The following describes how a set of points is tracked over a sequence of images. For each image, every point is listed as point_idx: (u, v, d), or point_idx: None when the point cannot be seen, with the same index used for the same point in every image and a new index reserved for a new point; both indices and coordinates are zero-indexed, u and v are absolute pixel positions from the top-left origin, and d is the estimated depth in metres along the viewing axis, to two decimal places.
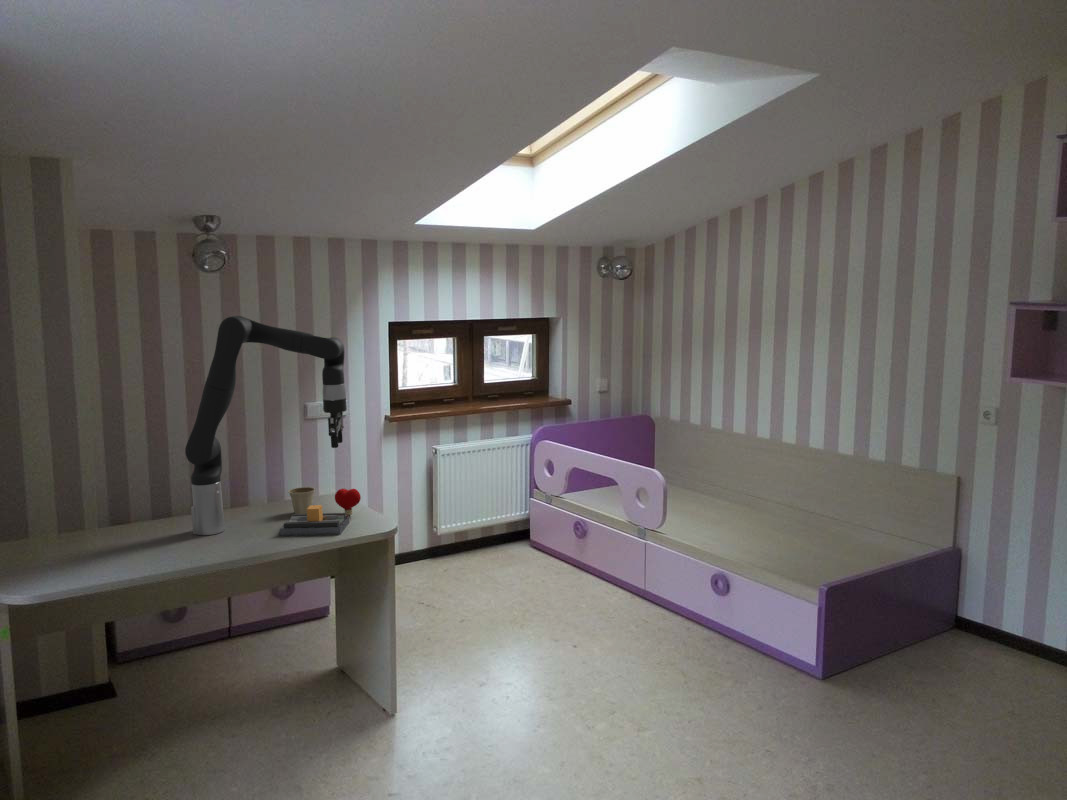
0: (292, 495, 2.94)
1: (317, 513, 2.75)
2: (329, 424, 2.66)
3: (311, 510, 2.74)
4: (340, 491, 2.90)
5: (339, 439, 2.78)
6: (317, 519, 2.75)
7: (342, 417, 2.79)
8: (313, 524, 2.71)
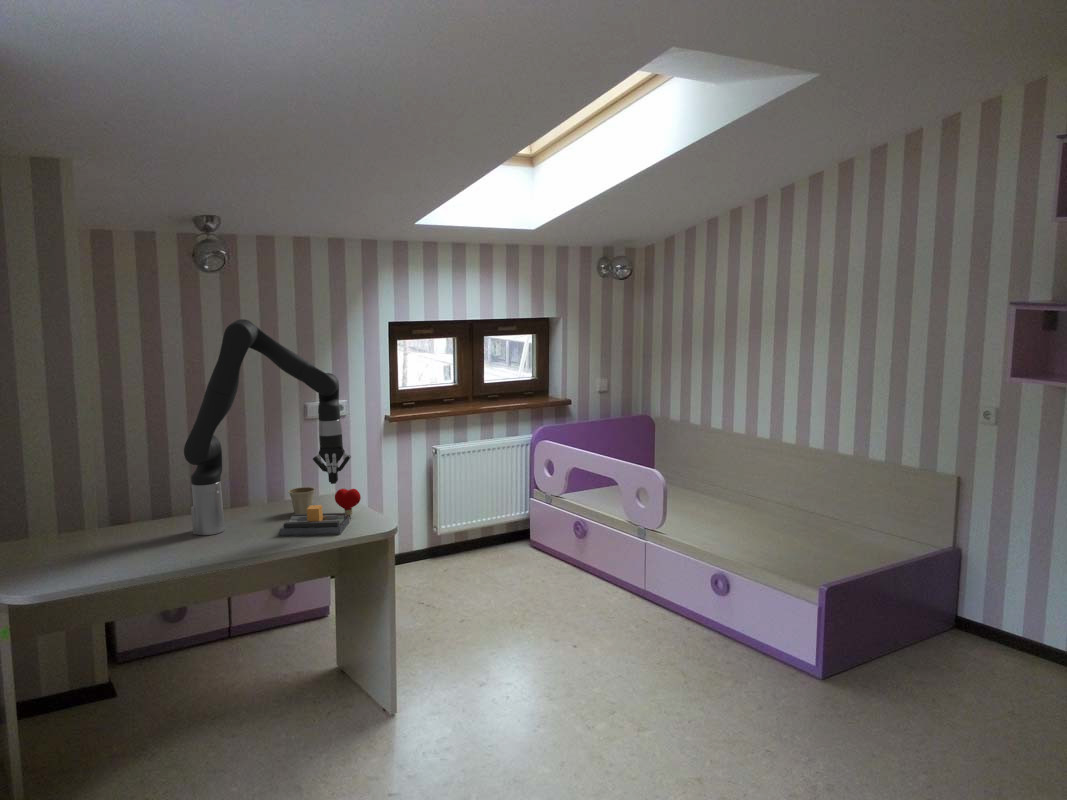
0: (292, 495, 2.94)
1: (317, 513, 2.75)
2: (346, 462, 2.74)
3: (311, 510, 2.74)
4: (340, 491, 2.90)
5: None
6: (317, 519, 2.75)
7: None
8: (313, 524, 2.71)
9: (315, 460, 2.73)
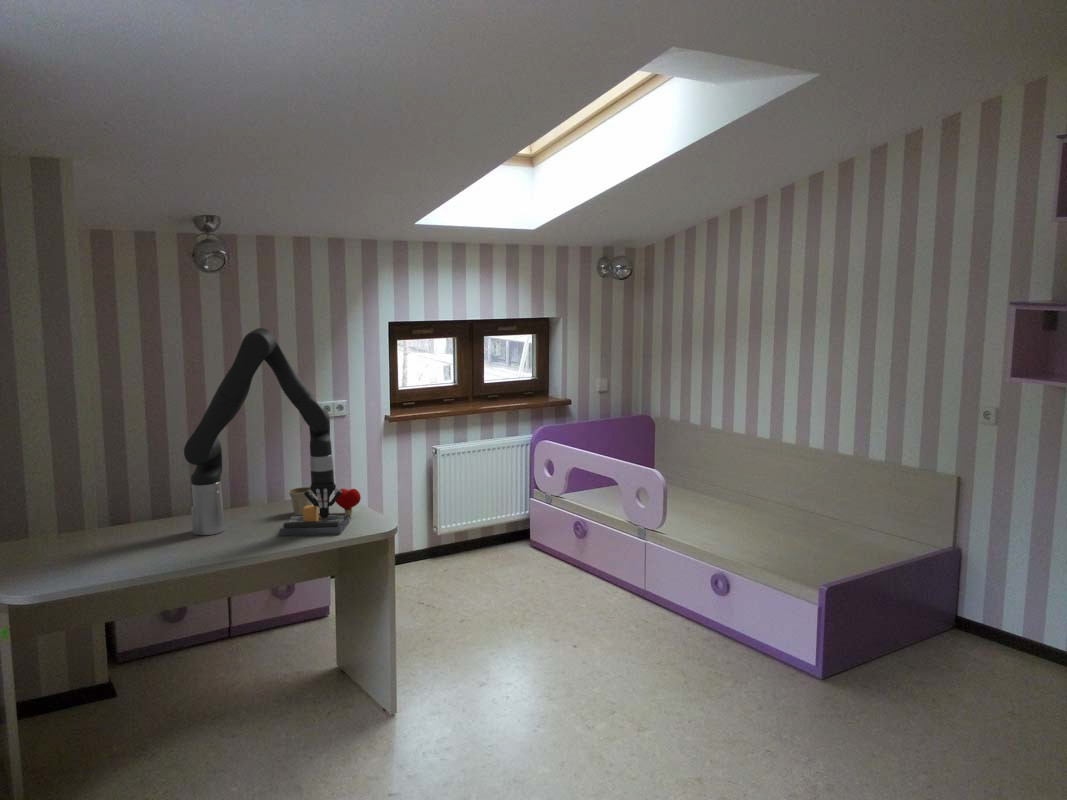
0: (292, 495, 2.94)
1: (313, 513, 2.75)
2: (337, 497, 2.75)
3: (307, 510, 2.74)
4: None
5: None
6: (313, 519, 2.75)
7: None
8: (313, 524, 2.71)
9: (306, 495, 2.75)
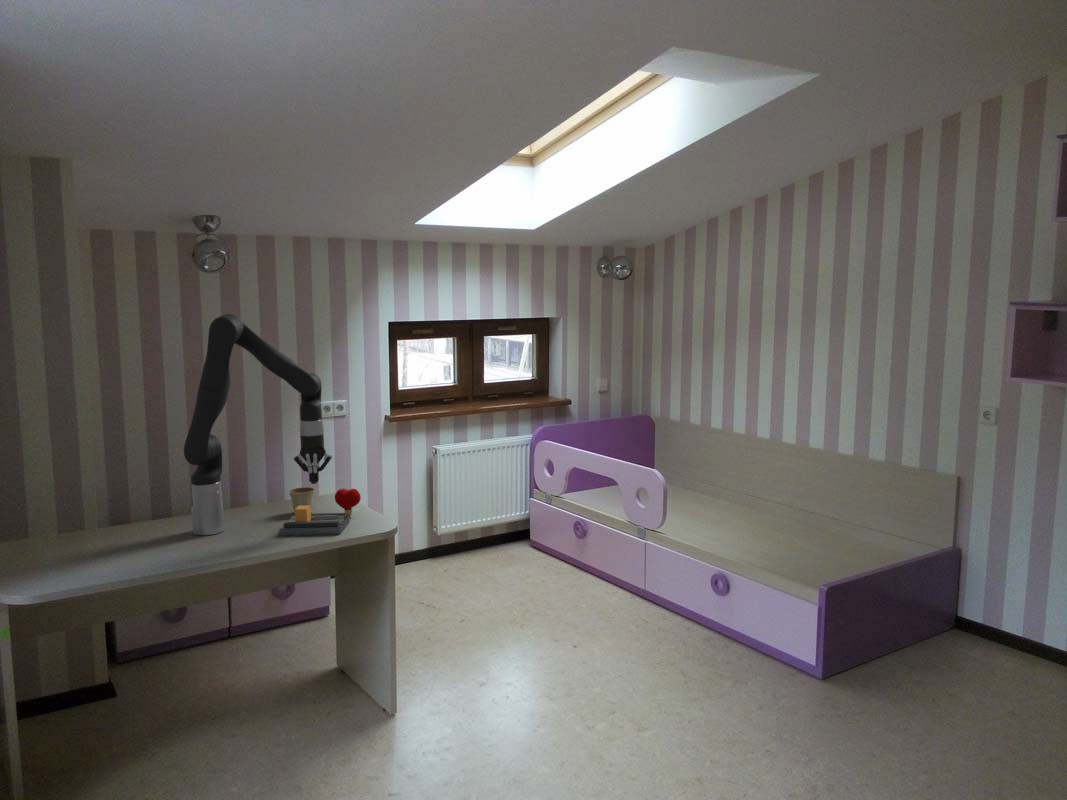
0: (292, 495, 2.94)
1: (305, 513, 2.75)
2: (327, 462, 2.74)
3: (299, 510, 2.74)
4: (340, 491, 2.90)
5: None
6: (305, 519, 2.75)
7: None
8: (313, 524, 2.71)
9: (296, 460, 2.73)
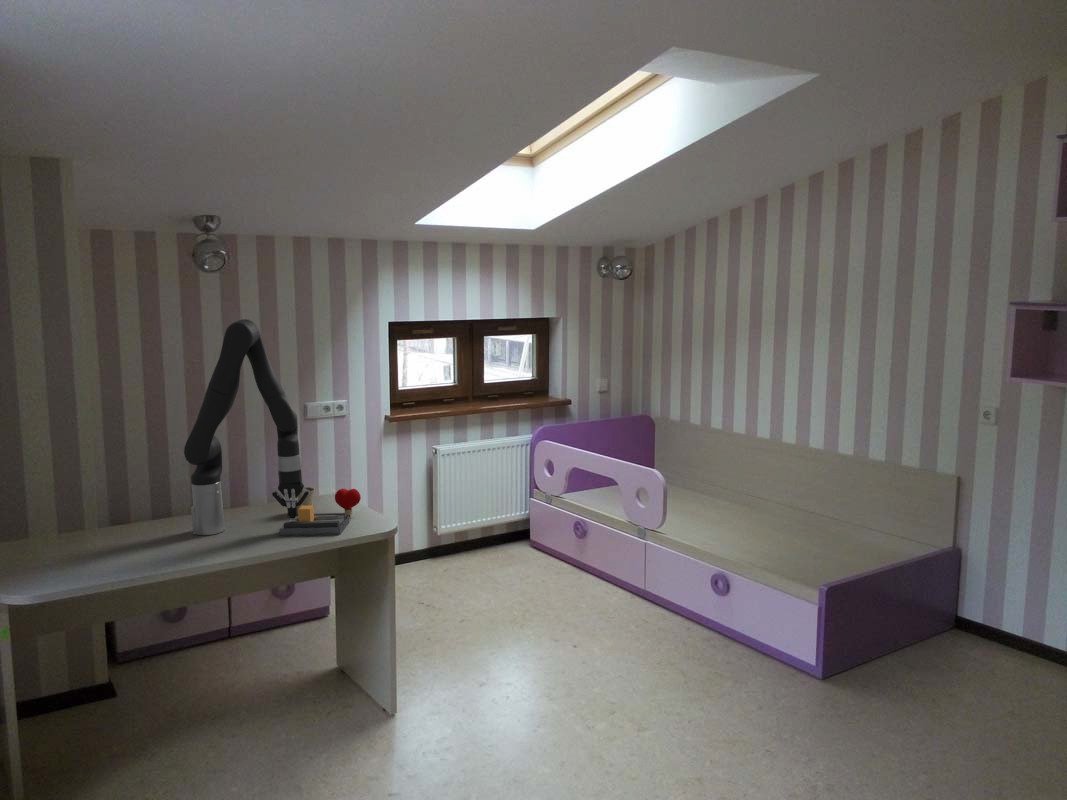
0: None
1: (308, 513, 2.75)
2: (305, 497, 2.75)
3: (302, 510, 2.74)
4: (340, 491, 2.90)
5: None
6: (308, 519, 2.75)
7: None
8: (313, 524, 2.71)
9: (274, 495, 2.75)
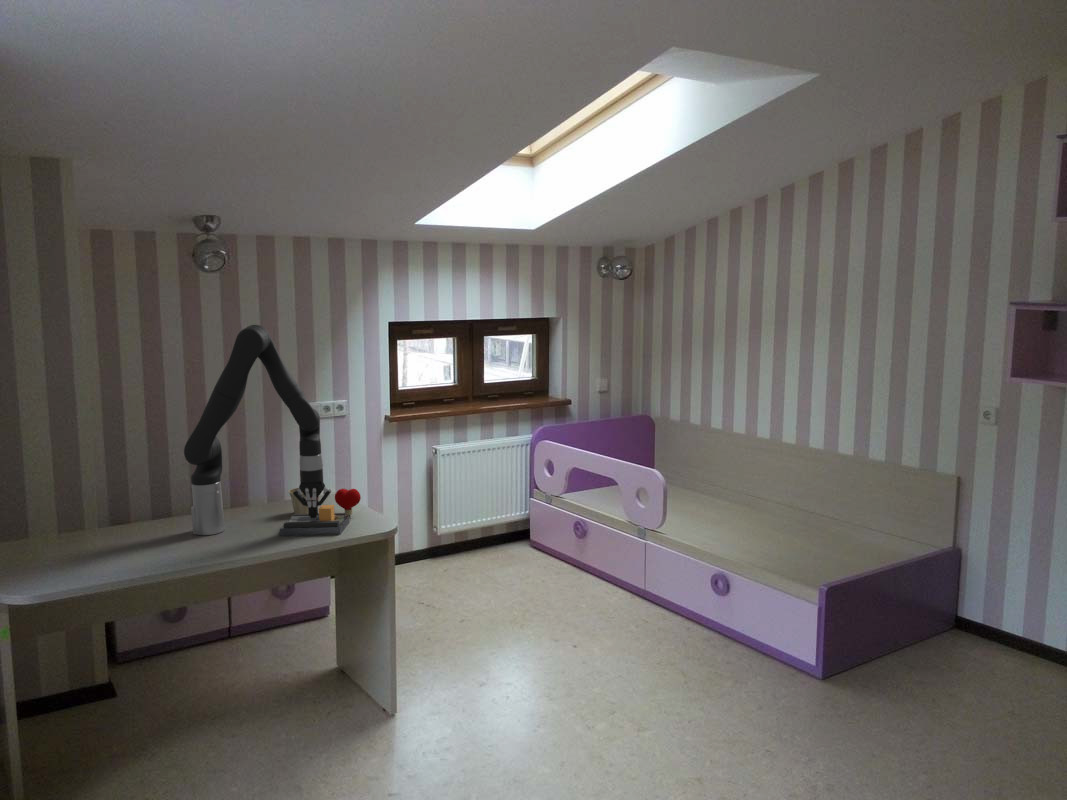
0: (292, 495, 2.94)
1: (329, 513, 2.75)
2: (326, 497, 2.75)
3: (323, 510, 2.74)
4: (340, 491, 2.90)
5: None
6: (329, 519, 2.75)
7: None
8: (313, 524, 2.71)
9: (295, 494, 2.75)
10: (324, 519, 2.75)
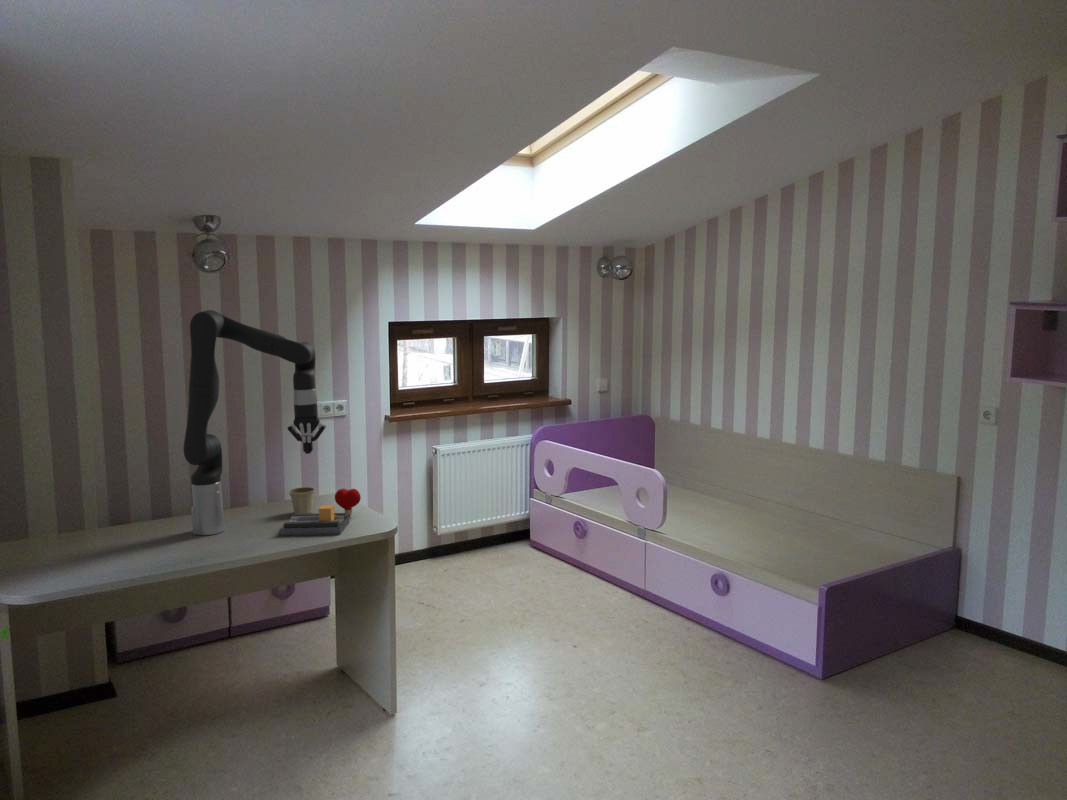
0: (292, 495, 2.94)
1: (329, 513, 2.75)
2: (321, 432, 2.72)
3: (323, 510, 2.74)
4: (340, 491, 2.90)
5: None
6: (329, 519, 2.75)
7: None
8: (313, 524, 2.71)
9: (290, 429, 2.72)
10: (324, 519, 2.75)
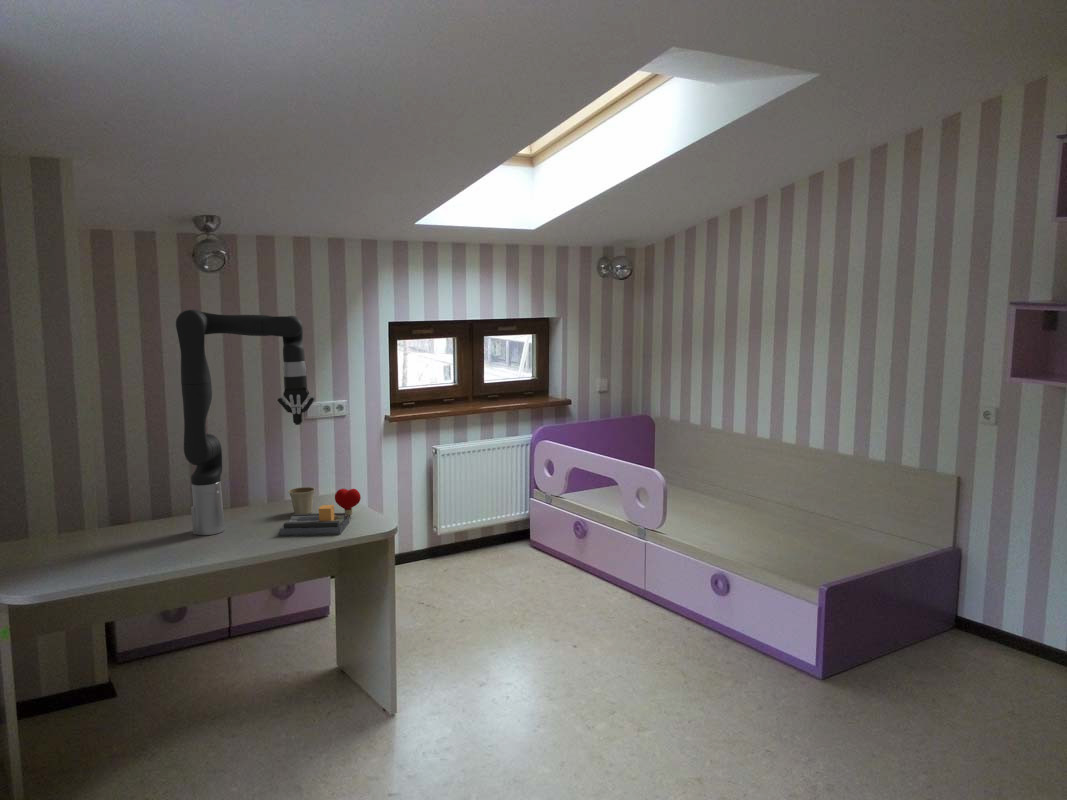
0: (292, 495, 2.94)
1: (329, 513, 2.75)
2: (310, 403, 2.79)
3: (323, 510, 2.74)
4: (340, 491, 2.90)
5: None
6: (329, 519, 2.75)
7: None
8: (313, 524, 2.71)
9: (280, 401, 2.78)
10: (324, 519, 2.75)
